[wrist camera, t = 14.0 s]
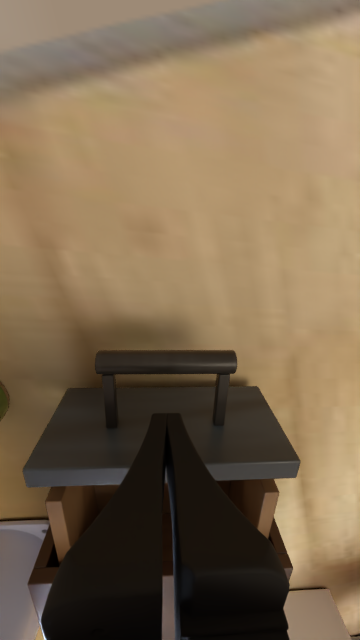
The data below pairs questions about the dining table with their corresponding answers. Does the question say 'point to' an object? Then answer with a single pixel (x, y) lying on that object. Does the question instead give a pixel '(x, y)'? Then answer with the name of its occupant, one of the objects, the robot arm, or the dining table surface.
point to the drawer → (130, 430)
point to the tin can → (3, 401)
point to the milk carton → (314, 616)
